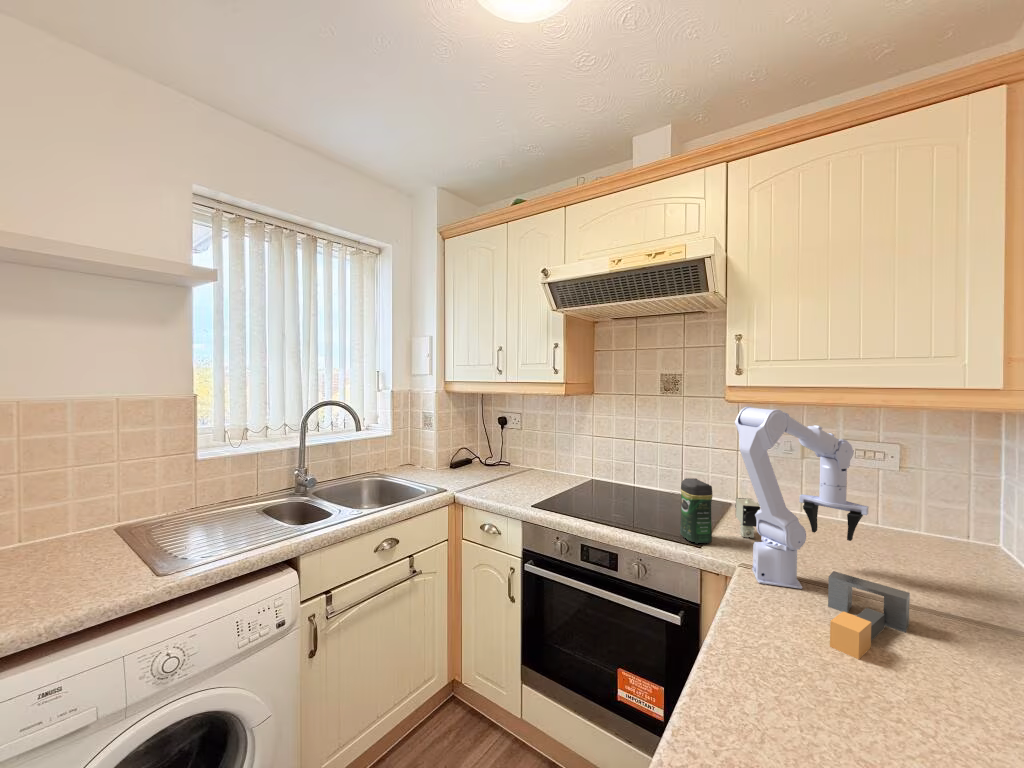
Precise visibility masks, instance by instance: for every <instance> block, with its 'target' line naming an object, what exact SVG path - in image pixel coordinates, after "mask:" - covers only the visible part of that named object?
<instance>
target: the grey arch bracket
mask: <svg viewBox="0 0 1024 768" xmlns="http://www.w3.org/2000/svg"><path fill="white" fill-rule="evenodd" d="M853 588H855V589H858V590H861V591H865V592H867V593H871V594H874V595H878V596H881V597H883V614H885V625H884V627H888V628H891V629H894V630H897V631H900V632H903V633H907V631H908V629H909V626H910V603H911V601H910V599H911V598H910V596H911V595H910V594H911V593H910V592H909V591H906V590H901V589H899V588H894V587H890V586H887V585H884V584H880V583H876V582H873V581H870V580H868V579H867V580H866V579H863V578H859V577H856V576H852V575H849V574H847V573H841V572H839V571H836V570H835V571H834V570H833V571H832V572H831V573H830V574H829V576H828V592H827V596H828V598H827V607H828V608H832V609H834V610H837V611H840V612H843V611H844V612H847V613H849V611H851V608H852V607H853Z"/></svg>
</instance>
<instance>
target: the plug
mask: <svg viewBox="0 0 1024 768" xmlns="http://www.w3.org/2000/svg"><path fill="white" fill-rule="evenodd" d="M829 624H830V625H829V627H830V629H829V632H830V633H829V647H830V648H831V649H834V650H836V651H839V652H840V653H844V654H845V655H848V656H849V657H852V658H854V659H857V660H859V659H860V660H861V658H862V657H863V656H864V655H865V654H866V653H867V652H868V651H869V650H870V649H871V647H872V641H873V640H874V639H875V638H876V637H877V636H878V635H879V634H881V633H882V631H883V630H885V626H884V625H885V614H883V613H882V612H881V611H877V610H875V609H872V608H868V607H865V608H864V609H863V610H862V611H860V612H859V613H858V614H857V615H854V614H852V613H849V612H848V613H847V612H844V611H841V612H840V613H839V614H837V615H836V616H835V617H834V618H832V619H831V620H830V623H829Z"/></svg>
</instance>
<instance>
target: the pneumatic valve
mask: <svg viewBox="0 0 1024 768" xmlns="http://www.w3.org/2000/svg"><path fill="white" fill-rule="evenodd" d="M734 505H735V506H734V507H735V518H736V519H737V520H738V521H739V522H740V524H739V526H740V529H739V530H740V531H739V534H740V535H741V537H742V538H743V537H745V538H748V537H750V538H751V539H755V535H754V534H755V528H756V524H757V521H756V517H755V514H756V513H757V511H758V510H760V509H761V508H760V505H759V502H755V501H754V500H753V499H752V498H748V497H747V498H746V497H745V498H744V497H736V498H735V504H734Z"/></svg>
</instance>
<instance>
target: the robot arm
mask: <svg viewBox="0 0 1024 768" xmlns="http://www.w3.org/2000/svg"><path fill="white" fill-rule="evenodd" d="M734 424H735V427H736V430H737V433H738V440H739V442H738V443H739V452H740V455H741V457H742V460H743V463H744V465H745V469H746V471H747V474H748V477H749V480H750V482H751V483H750V484H751V485H752V489H753V491H754V494H755V496H756V499H757V503H758V504H759V505H760V506H759V507H760V510H758V511H757V513H756V514H755V517H756V521H757V524H756V527H755V528H756V531H757V533H758V535H759V536H760V537H761V539H760V540H761V541H754V542H753V546H752V569H751V570H752V572H753V575H754V576H755V579H756V581H757V582H758V583H759V584H764V585H772V586H779V587H784V588H785V587H786V588H792V589H800V590H801V589H803V585H802V584H801V582H800V581H799V580H798V578H797V577H798V551H799V550H801V548H802V547H803V546H804V544H805V543H806V541H807V530H806V529H805V527H804V525H802V524H801V523H800V521H799V517H797V516H796V515H795V514H794V513H793V512H792V511H791V510H790V509H788V507H787V505H786V503H785V502H786V501H785V500H784V497H783V494H782V491H781V488H780V485H779V482H778V479H777V477H776V474H775V471H774V468H773V465H772V463H771V460H770V456H769V454H768V450H770V449H772V448H773V447H774V446H775V445H776V444H777V442H778V441H779V440H780V438H781V437H782V436H783V434H784V433H786V434H788V435H791V436H793V437H795V438H797V439H798V442H799V444H800V445H801V446H803V447H805V449H806V448H807V449H808V450H810V451H812V452H814V454H815V455H816V457H817V458H819V490H818V491H819V493H818V494H819V495H810V494H809V495H808V494H803V493H802V494H800V495H799V497H798V498H799V499H798V500H799V503H801V504H803V505H802V509H803V510H804V512H805V514H806V516H807V519H808V521H809V524H810V525H809V526H810V528H811V533H816V532H817V531H818V513H819V506H821V507H824V508H825V507H826V508H829V509H830V508H831V509H835V510H840V511H846V512H848V513H847V515H846V519H847V534H846V540H847V541H849V542H851V541H852V540H853V538H854V534H855V531H856V528H857V526H858V524H859V522H860V520H861V519H862V518H863V516H868V515H869V508H870V506H867V505H864V504H859V503H855V502H852V501H848V500H847V490H848V489H847V487H848V485H847V483H848V482H847V481H848V469H849V468H850V466H851V461H852V458H853V457H854V451H855V450H853V446H852V444H851V443H850V442H849V441H848V440H847V439H842V438H838V437H836V436H835V434H834V433H831V432H829V433H828V432H826V431H825V430H823V427H822V426H820V425H816V424H814V425H808V426H806V425H804V424H802V423H801V422H799V421H798V420H797V419H795V418H793V417H791V416H790V413H788V412H784V411H783V410H780V409H768V408H759V407H758V408H757V407H752V406H745V407H742V408H741V409H740V411H739V412H738V414H737V416H736V419H735V420H734Z"/></svg>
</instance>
